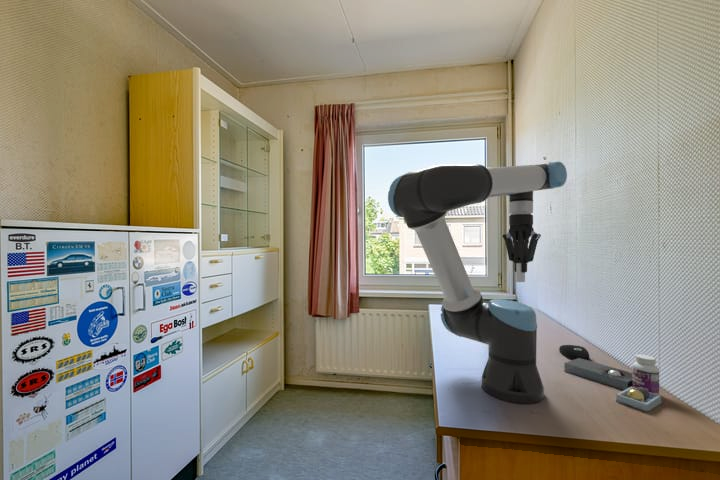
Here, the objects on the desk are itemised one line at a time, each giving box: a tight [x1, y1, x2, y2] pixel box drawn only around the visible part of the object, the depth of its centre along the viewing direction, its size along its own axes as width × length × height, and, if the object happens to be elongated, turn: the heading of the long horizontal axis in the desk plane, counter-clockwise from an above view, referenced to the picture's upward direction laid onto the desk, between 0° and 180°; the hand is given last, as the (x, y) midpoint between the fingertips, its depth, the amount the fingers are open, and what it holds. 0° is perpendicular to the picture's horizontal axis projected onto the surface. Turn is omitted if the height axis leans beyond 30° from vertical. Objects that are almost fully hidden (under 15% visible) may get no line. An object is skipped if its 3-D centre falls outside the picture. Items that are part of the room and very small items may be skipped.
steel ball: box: [608, 370, 621, 376], centre depth 93 cm, size 3×3×3 cm
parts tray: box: [616, 387, 662, 413], centre depth 80 cm, size 9×6×2 cm, turn 121°
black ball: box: [636, 387, 649, 399], centre depth 81 cm, size 3×3×3 cm
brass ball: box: [627, 389, 644, 402], centre depth 79 cm, size 3×3×3 cm
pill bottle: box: [631, 353, 660, 395], centre depth 85 cm, size 5×5×10 cm
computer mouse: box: [558, 343, 590, 361], centre depth 113 cm, size 8×12×4 cm, turn 167°
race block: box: [564, 358, 633, 391], centre depth 95 cm, size 9×16×2 cm, turn 31°
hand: (520, 281), depth 112 cm, fingers closed
